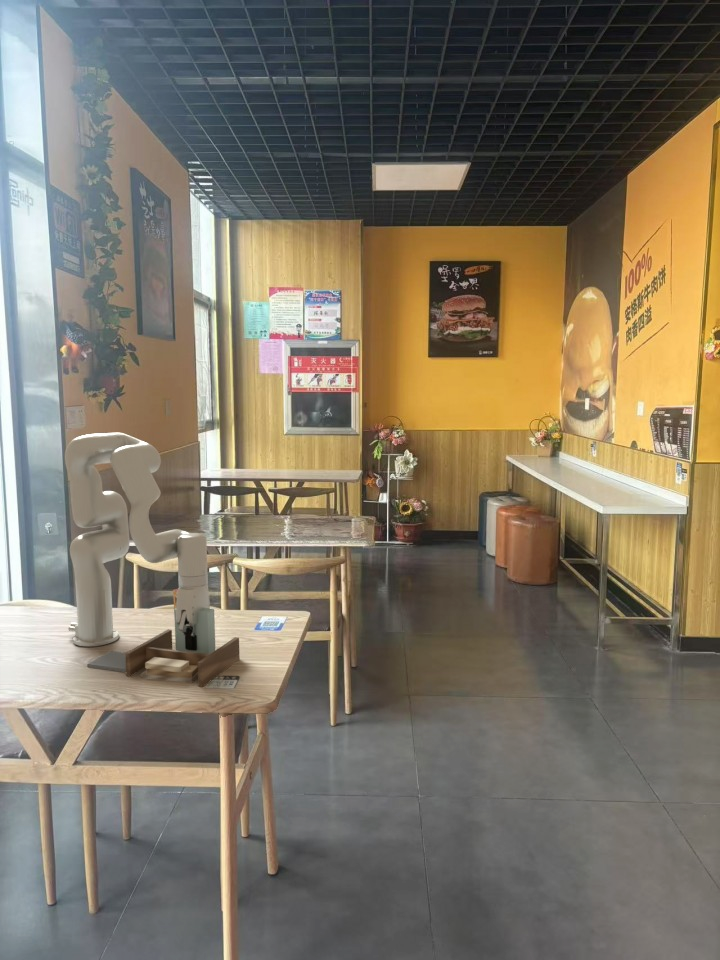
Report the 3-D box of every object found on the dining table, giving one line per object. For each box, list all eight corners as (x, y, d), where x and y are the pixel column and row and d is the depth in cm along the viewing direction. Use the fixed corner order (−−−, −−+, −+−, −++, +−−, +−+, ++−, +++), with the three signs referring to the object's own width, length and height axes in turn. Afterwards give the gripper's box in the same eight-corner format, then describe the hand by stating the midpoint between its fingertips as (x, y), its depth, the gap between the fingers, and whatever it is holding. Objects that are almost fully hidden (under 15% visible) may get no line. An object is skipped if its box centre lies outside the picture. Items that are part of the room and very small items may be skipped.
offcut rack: (126, 675, 182) (125, 653, 181) (168, 650, 200) (167, 629, 199) (202, 686, 175) (201, 663, 174) (239, 659, 193) (239, 637, 192)
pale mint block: (176, 660, 193) (174, 609, 191) (183, 655, 196) (181, 605, 194) (209, 664, 190) (207, 612, 188) (215, 659, 193) (214, 609, 191)
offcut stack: (140, 679, 181) (139, 663, 180) (151, 671, 186) (150, 655, 185) (191, 684, 178) (191, 668, 177) (201, 676, 183) (200, 660, 182)
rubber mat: (87, 666, 188) (87, 663, 188) (111, 653, 198) (111, 650, 198) (129, 672, 184) (129, 669, 184) (152, 658, 194) (152, 656, 194)
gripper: (197, 571, 199) (199, 635, 201) (163, 587, 184) (165, 656, 186) (221, 573, 197) (223, 638, 199) (188, 589, 181) (191, 659, 183)
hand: (195, 646), depth 192 cm, fingers closed on pale mint block, 3 cm apart
